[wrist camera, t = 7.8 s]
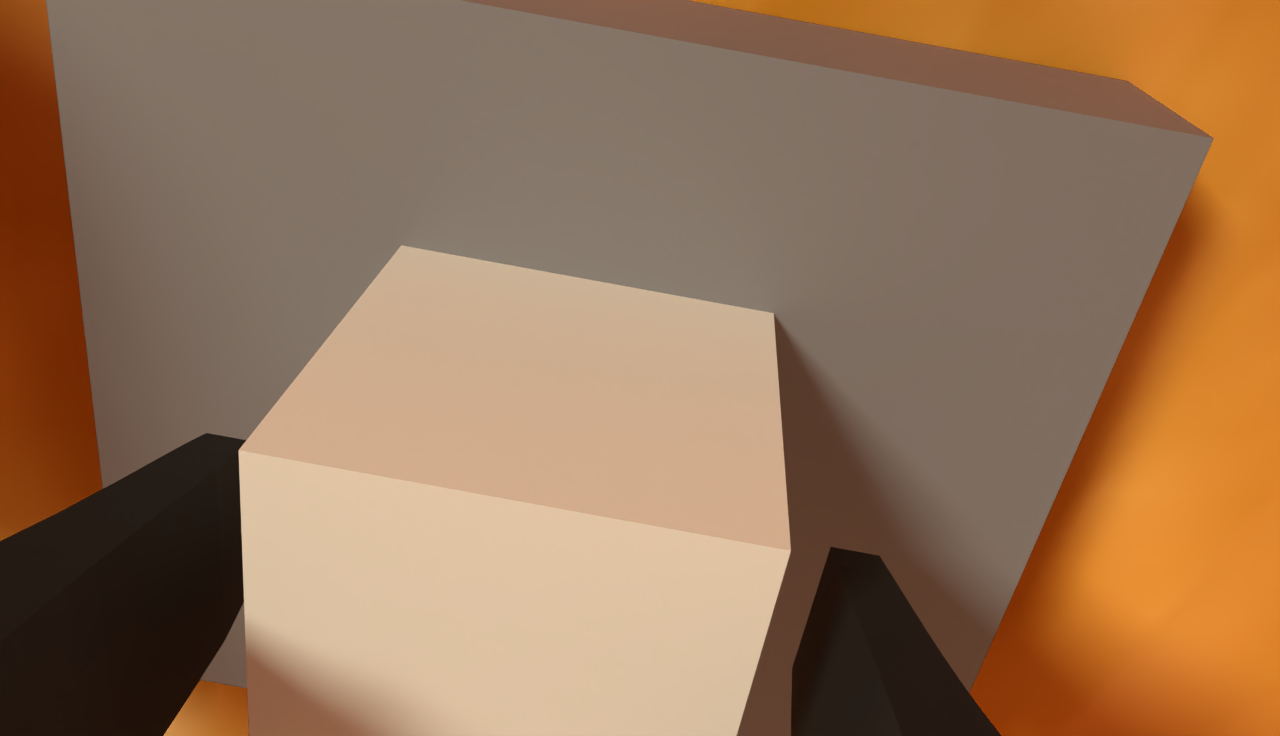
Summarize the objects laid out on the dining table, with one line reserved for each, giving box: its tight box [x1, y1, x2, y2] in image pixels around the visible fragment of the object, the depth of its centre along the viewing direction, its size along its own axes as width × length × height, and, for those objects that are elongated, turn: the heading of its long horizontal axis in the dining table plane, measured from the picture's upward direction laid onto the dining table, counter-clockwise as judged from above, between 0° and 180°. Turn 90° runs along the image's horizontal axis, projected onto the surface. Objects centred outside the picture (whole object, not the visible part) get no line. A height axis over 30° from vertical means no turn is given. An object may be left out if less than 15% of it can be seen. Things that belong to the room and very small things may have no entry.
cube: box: [238, 245, 791, 736], centre depth 12 cm, size 5×5×5 cm
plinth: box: [46, 0, 1214, 736], centre depth 16 cm, size 14×12×3 cm
